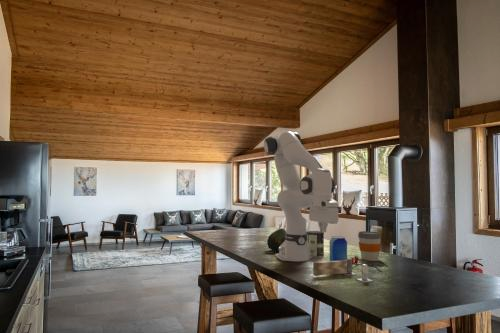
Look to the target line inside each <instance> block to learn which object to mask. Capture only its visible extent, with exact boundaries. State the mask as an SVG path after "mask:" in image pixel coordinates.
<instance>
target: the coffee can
mask: <svg viewBox="0 0 500 333" xmlns="http://www.w3.org/2000/svg"><path fill="white" fill-rule="evenodd" d="M324 233H325V232H320V230H309V231H307V230H306V234H307V243H308V244H309V252H310V256H311V257H312V258H311V259H314V258H315V259H316V258H317V259H318V258H319V259H320V258H324V257H325V250H324V249H325V248H324V247H325V239H324V237H325V234H324Z"/></svg>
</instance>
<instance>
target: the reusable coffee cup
mask: <svg viewBox="0 0 500 333" xmlns="http://www.w3.org/2000/svg"><path fill="white" fill-rule="evenodd" d="M357 237H358V248H359V251H360V257H361V258H360V259H361V261H363V260H369V261H368V262H372V261H378V262H379V256H380V251H381V246H382V243H381V239H382V233H381V232H379V231H373V230H372V231H371V230H369V231H368V230H367V231H365V230H362V231H358V235H357Z"/></svg>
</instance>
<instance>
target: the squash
mask: <svg viewBox="0 0 500 333" xmlns="http://www.w3.org/2000/svg"><path fill="white" fill-rule="evenodd" d="M286 233H287V231H285V229H284V228H279V229H276V230H275V231H273V232H272V233H270V234H269V235H268V238H267V241H266V244H267V247H268V249H270V250H271V251H272V252H273V253H279V247H280V245H281V244H282V243H283V242H284V241H285V236H286V235H285V234H286Z"/></svg>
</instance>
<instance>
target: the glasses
mask: <svg viewBox="0 0 500 333" xmlns="http://www.w3.org/2000/svg"><path fill="white" fill-rule="evenodd" d="M351 259H352V266H354V265H356V266H361V267H362V264H360V263H359V264H358V262H359V261H364V262H370V261H369V260H362V258H360V259H359V257H358V256H357V255H355V256H354V257H352V258H351ZM371 262H374V263H381V264H382V265H384V266H385V267H386V268H389V266H388V264H386V263H384V262H382V261H379V260H378V261H371ZM367 267H371V268H375V269H376V270H377V271H379V272H380V273H382V272H383V271H382V270H380V269H379V268H378V267H377V266H375V265H374V266H373V265H368V264H367Z"/></svg>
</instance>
